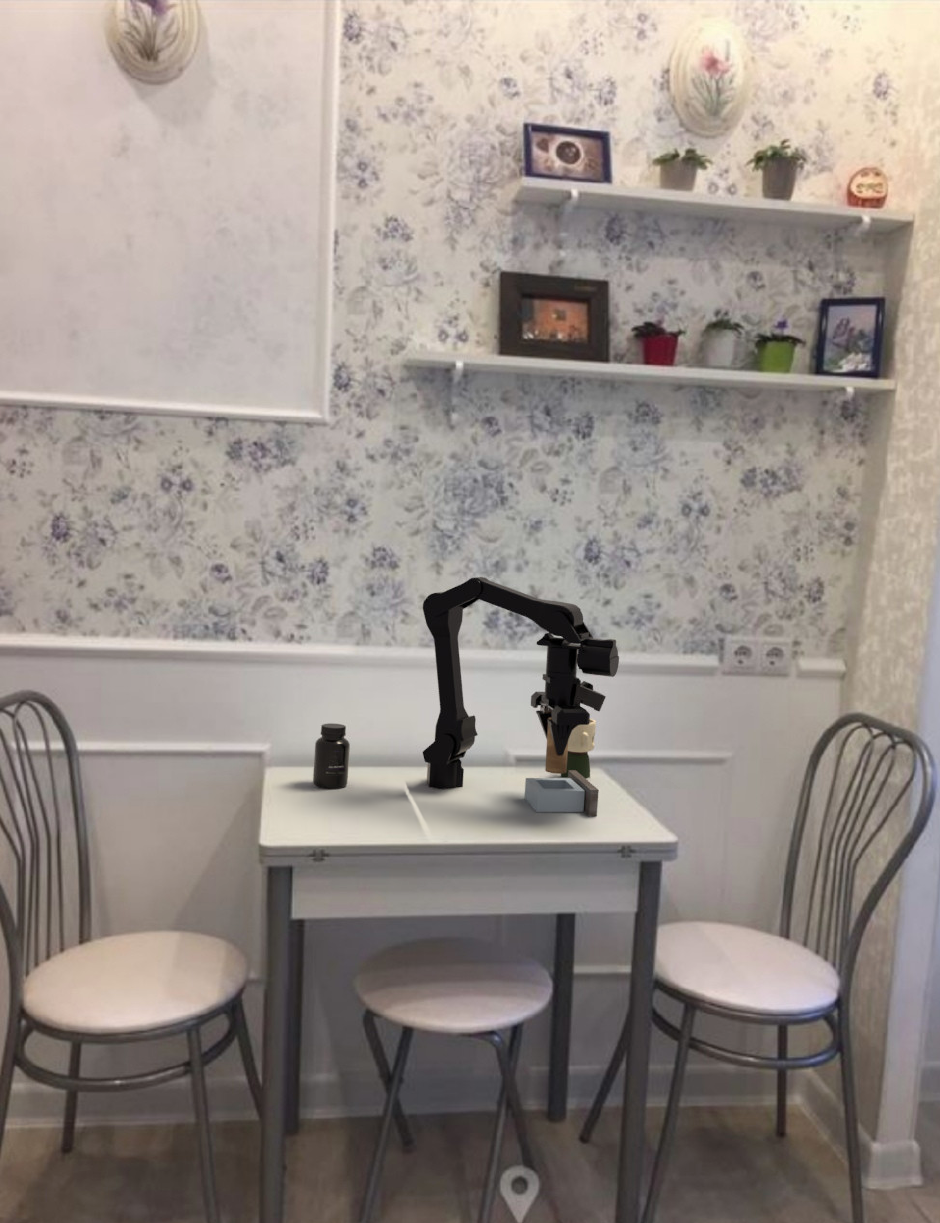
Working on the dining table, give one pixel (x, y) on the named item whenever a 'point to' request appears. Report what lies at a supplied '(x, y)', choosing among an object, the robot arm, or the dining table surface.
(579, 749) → the character mug
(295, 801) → the dining table surface
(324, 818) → the dining table surface
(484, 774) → the dining table surface
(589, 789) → the base board
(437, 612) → the robot arm
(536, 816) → the dining table surface
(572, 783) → the sliding block
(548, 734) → the dowel
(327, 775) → the supplement bottle
